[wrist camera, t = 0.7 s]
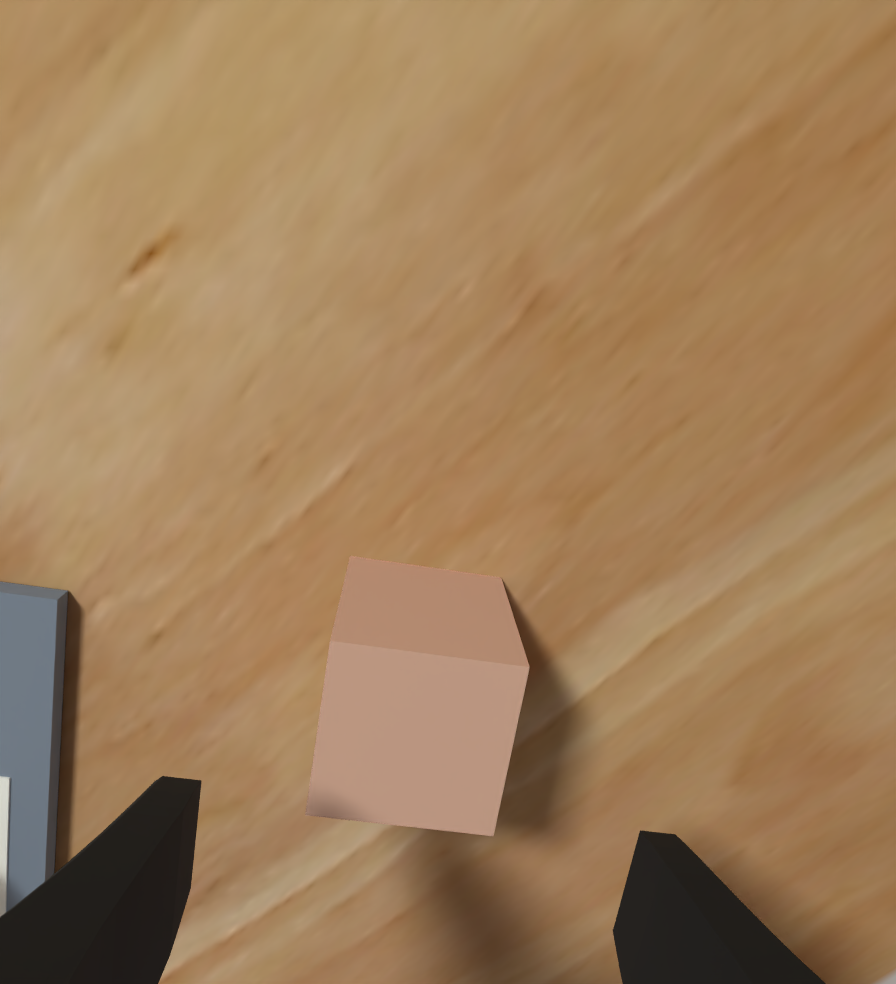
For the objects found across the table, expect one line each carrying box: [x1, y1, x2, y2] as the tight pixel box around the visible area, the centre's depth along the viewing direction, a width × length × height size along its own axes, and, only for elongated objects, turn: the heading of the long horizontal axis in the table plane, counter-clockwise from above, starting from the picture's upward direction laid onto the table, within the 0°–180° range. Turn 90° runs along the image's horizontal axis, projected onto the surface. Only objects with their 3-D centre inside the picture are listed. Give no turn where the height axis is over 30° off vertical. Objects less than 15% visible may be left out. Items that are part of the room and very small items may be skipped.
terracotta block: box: [305, 556, 530, 836], centre depth 18 cm, size 4×4×5 cm
